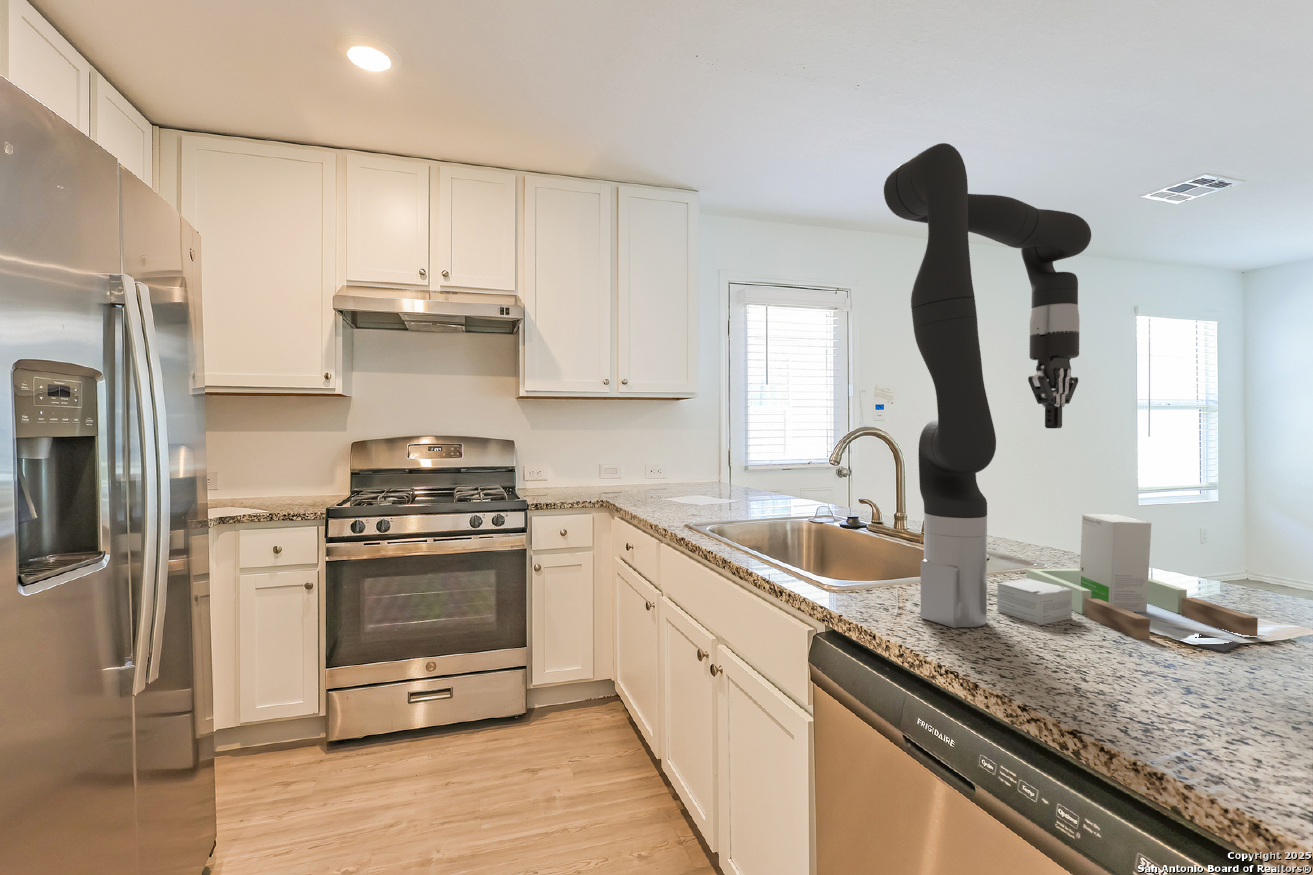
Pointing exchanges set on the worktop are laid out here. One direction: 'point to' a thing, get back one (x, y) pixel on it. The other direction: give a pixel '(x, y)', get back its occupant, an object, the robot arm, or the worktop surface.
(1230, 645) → the pit mat
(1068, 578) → the corral
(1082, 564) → the skincare box
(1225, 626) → the channel
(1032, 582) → the small box
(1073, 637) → the worktop surface
